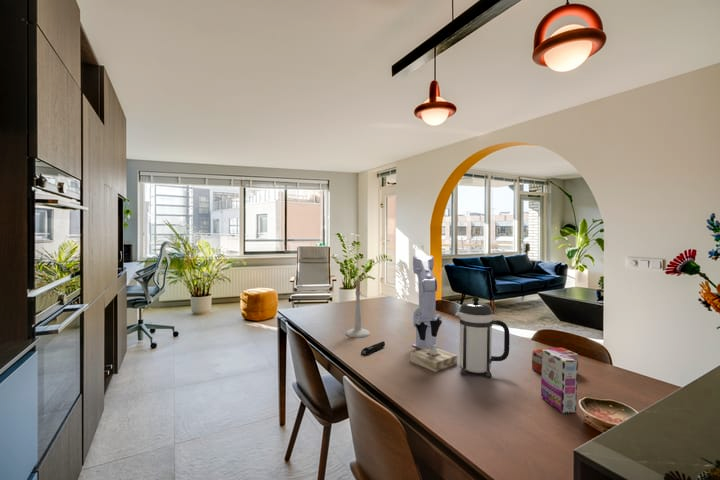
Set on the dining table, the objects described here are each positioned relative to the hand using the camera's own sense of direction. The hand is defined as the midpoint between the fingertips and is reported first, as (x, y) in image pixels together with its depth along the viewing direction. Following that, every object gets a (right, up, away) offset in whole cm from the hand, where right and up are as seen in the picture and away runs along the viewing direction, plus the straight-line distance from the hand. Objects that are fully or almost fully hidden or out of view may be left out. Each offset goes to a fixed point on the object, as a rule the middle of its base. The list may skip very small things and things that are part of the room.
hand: (428, 338), depth 148 cm
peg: (+2, -10, -1) cm, 10 cm away
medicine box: (+49, -11, -10) cm, 51 cm away
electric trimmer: (-23, -10, +13) cm, 28 cm away
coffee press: (+18, -10, -10) cm, 23 cm away
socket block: (+2, -10, -1) cm, 10 cm away
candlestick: (-31, -9, +38) cm, 50 cm away
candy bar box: (+35, -11, -37) cm, 52 cm away
